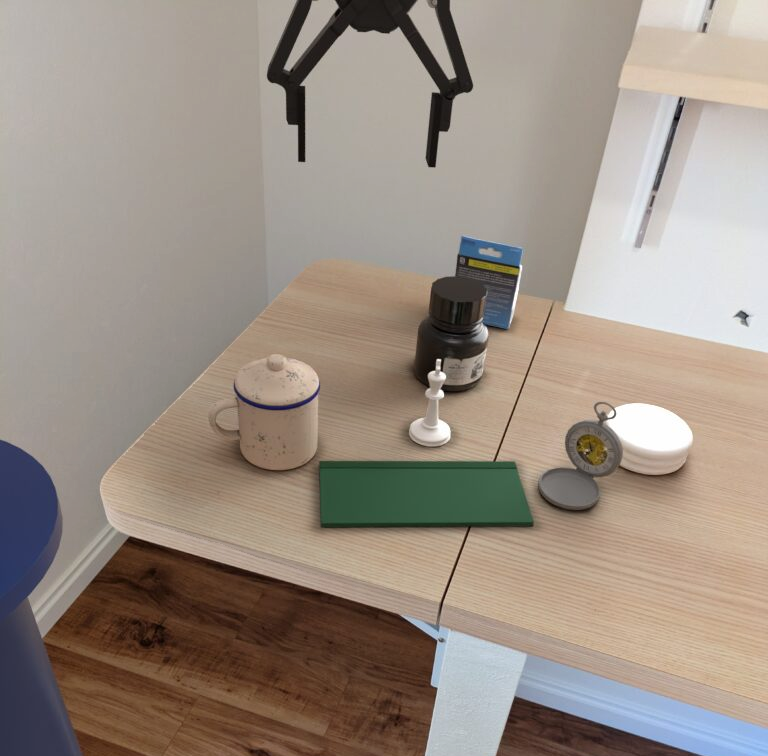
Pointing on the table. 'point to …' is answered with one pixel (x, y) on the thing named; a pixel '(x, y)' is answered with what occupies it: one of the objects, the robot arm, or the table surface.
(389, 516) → the green rectangular panel
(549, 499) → the pocket watch
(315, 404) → the teacup with lid
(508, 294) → the label tape box
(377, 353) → the table surface
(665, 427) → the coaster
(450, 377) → the ink bottle
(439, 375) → the chess piece
